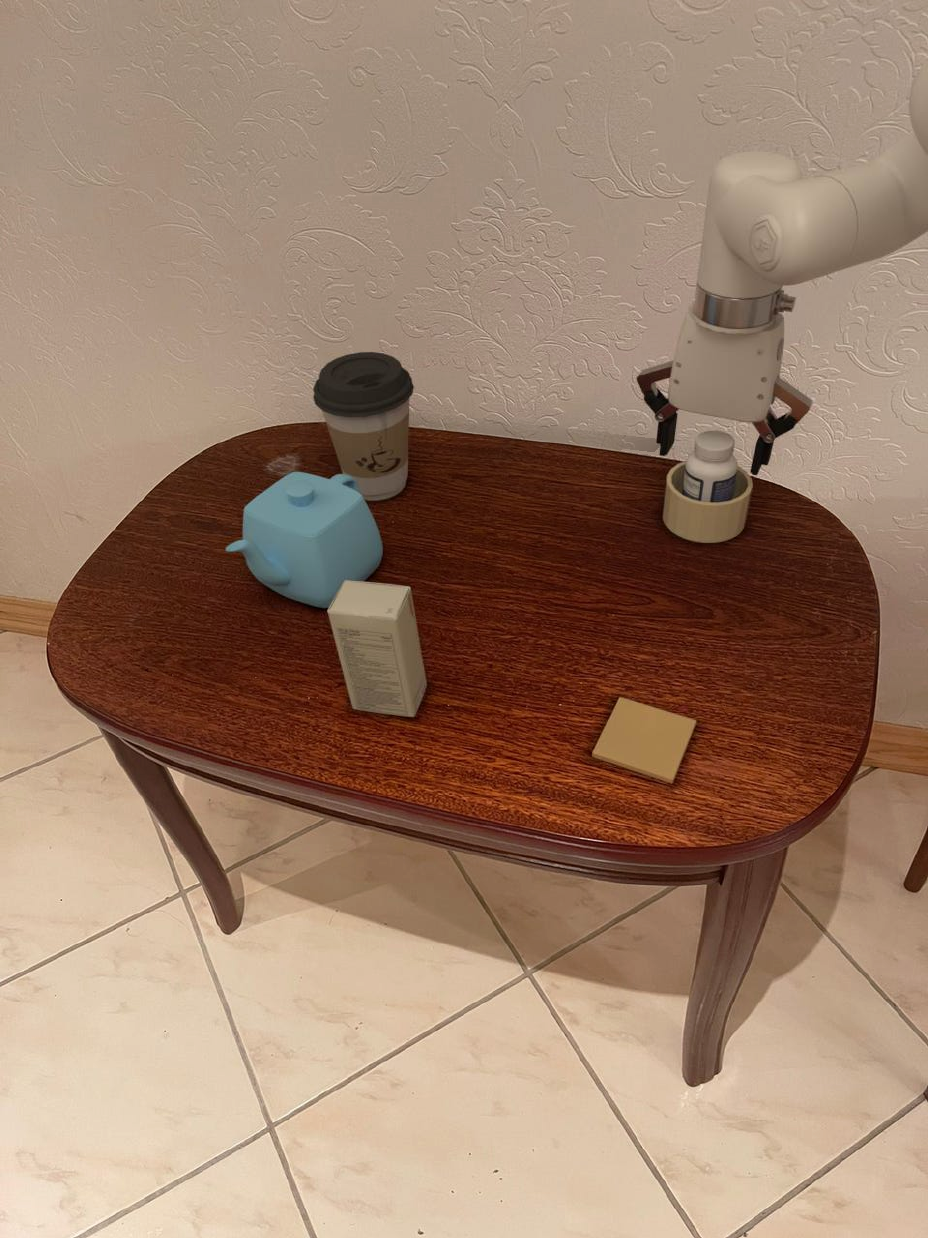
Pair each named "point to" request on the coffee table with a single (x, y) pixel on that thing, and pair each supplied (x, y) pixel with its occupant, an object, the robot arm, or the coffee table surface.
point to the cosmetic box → (379, 647)
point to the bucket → (705, 510)
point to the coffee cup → (368, 419)
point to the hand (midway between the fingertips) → (710, 458)
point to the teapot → (310, 537)
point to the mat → (645, 739)
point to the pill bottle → (711, 468)
